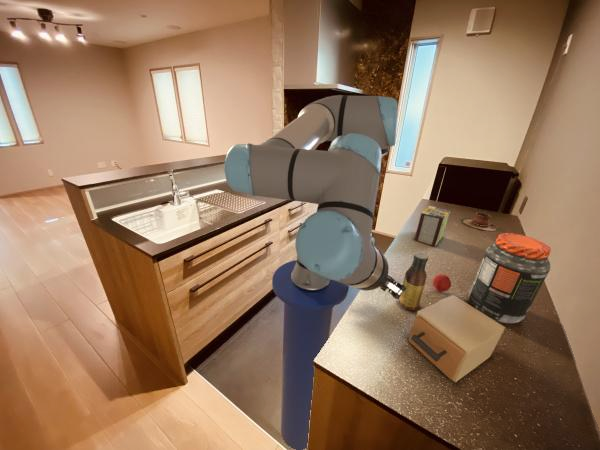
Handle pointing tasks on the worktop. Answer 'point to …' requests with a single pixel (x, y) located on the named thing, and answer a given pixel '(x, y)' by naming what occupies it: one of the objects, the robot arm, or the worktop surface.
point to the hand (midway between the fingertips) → (388, 282)
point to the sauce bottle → (414, 282)
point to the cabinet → (464, 330)
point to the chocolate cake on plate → (480, 221)
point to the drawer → (436, 347)
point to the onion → (442, 282)
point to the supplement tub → (510, 277)
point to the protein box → (431, 225)
